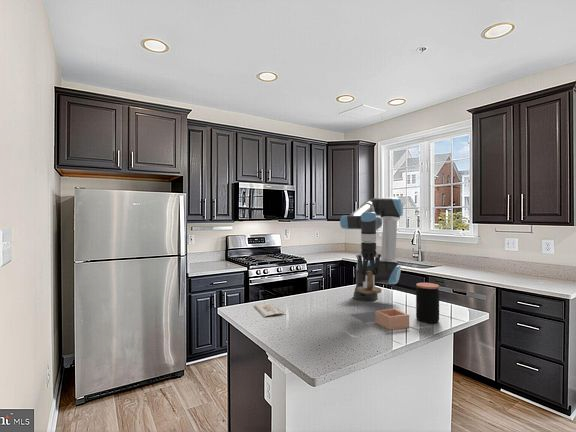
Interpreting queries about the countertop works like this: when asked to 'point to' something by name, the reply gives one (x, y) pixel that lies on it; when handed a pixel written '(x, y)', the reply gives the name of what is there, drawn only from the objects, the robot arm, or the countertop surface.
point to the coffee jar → (427, 302)
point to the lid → (369, 286)
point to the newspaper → (268, 309)
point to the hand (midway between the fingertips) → (368, 287)
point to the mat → (365, 316)
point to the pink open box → (392, 319)
